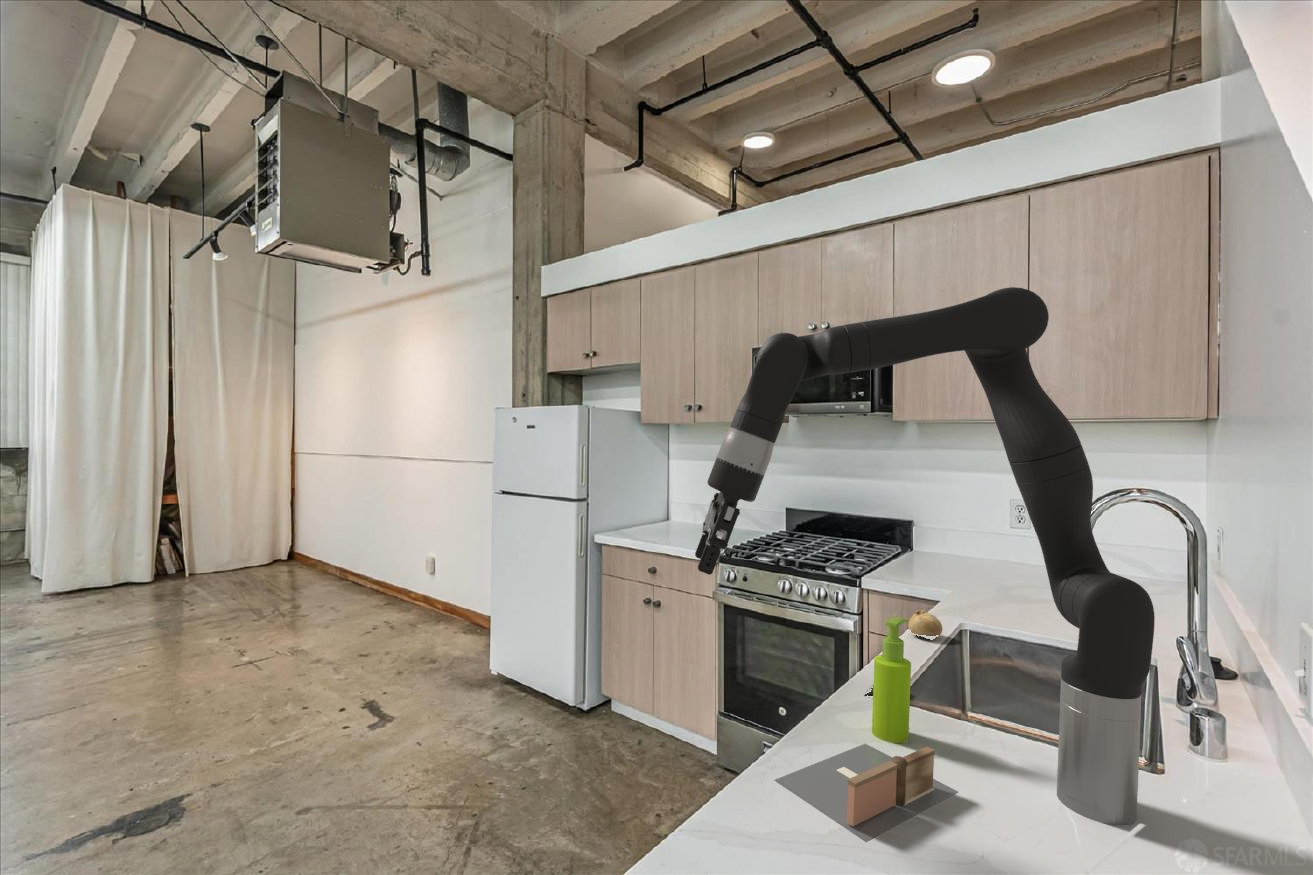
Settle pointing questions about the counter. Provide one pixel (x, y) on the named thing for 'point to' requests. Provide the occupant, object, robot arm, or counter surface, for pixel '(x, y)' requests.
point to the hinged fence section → (871, 792)
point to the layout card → (830, 790)
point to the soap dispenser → (891, 688)
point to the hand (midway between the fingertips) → (702, 565)
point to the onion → (925, 624)
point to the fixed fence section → (914, 774)
